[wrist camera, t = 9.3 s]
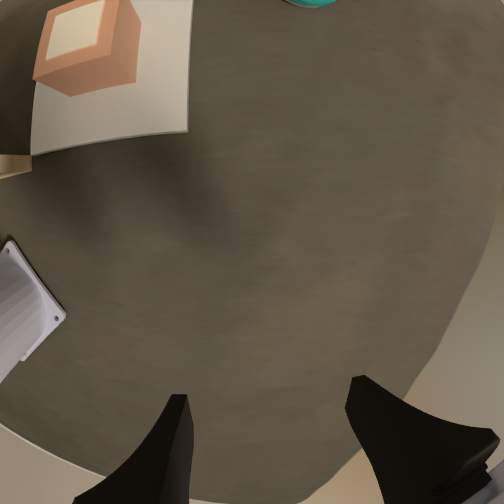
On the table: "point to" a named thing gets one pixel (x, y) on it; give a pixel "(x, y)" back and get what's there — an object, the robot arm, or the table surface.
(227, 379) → the table surface
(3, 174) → the wooden board
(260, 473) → the table surface
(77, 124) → the tile
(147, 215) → the table surface
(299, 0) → the beverage can
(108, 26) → the letter block
